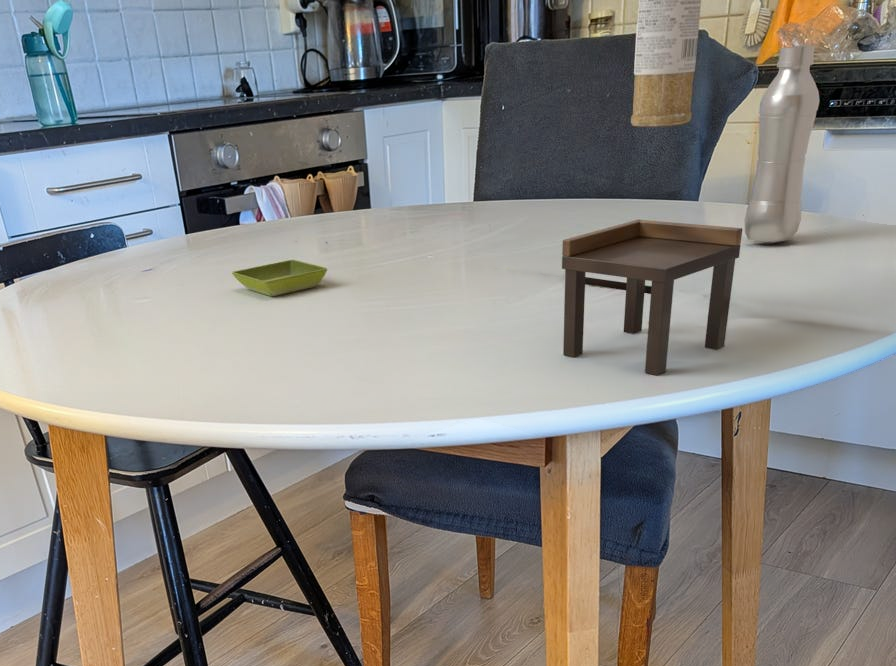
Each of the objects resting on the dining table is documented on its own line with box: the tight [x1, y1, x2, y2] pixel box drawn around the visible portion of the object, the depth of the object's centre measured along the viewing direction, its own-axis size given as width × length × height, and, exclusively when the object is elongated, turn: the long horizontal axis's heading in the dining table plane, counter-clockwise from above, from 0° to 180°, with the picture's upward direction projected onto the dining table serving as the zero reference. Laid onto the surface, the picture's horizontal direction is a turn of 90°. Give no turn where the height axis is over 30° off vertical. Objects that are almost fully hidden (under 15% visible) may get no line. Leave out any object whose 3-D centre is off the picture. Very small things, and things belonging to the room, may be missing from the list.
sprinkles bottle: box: [630, 0, 702, 128], centre depth 63 cm, size 5×5×14 cm
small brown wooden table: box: [561, 219, 743, 376], centre depth 72 cm, size 10×10×9 cm
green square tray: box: [231, 259, 328, 297], centre depth 104 cm, size 9×9×2 cm
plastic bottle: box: [744, 44, 820, 245], centre depth 101 cm, size 6×7×20 cm
